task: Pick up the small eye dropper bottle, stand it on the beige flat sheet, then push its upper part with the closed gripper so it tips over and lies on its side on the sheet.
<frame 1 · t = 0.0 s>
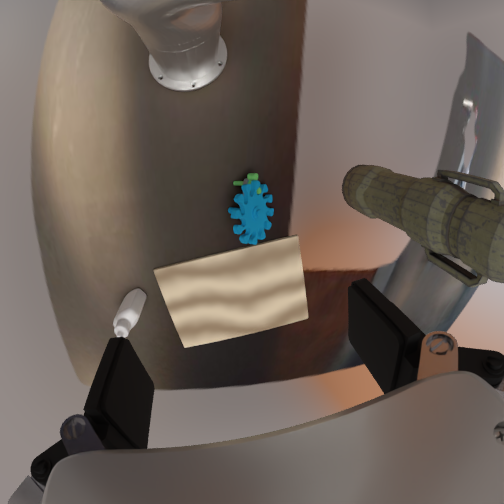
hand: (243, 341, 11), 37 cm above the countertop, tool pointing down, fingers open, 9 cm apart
eye dropper bottle: (134, 298, 49), on the countertop
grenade: (361, 187, 48), on the countertop
gear: (250, 204, 46), on the countertop
beige flat sheet: (236, 295, 52), on the countertop
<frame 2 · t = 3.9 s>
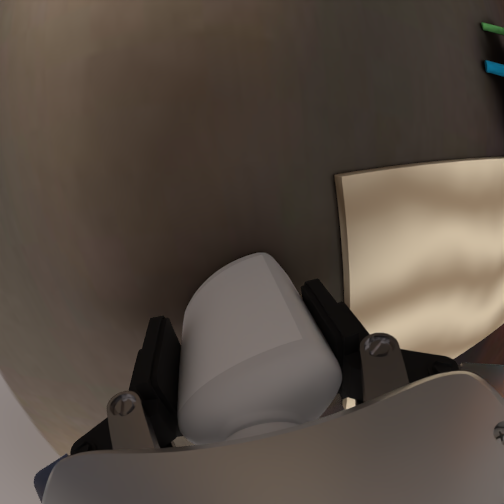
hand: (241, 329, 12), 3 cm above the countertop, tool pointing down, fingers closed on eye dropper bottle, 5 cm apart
eye dropper bottle: (234, 293, 15), on the countertop, touching gripper
gear: (500, 75, 12), on the countertop
beige flat sheet: (477, 269, 17), on the countertop
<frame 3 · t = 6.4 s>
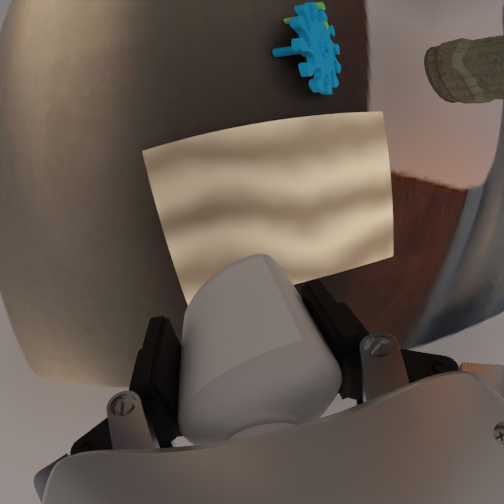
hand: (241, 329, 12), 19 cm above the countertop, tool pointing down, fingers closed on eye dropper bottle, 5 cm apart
eye dropper bottle: (234, 293, 15), point 15 cm above the countertop, touching gripper
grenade: (444, 74, 25), on the countertop
gear: (305, 54, 24), on the countertop
beige flat sheet: (286, 205, 29), on the countertop
when the fingers open (5 cm above the countertop, at t = 9.3 s): eye dropper bottle stays where it is, resting on beige flat sheet.
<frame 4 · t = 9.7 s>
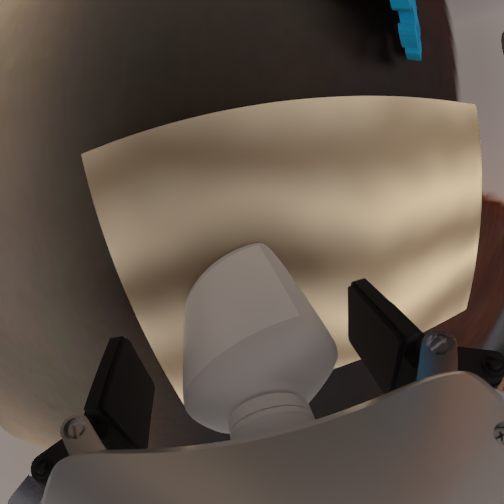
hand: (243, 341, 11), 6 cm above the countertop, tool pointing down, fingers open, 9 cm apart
eye dropper bottle: (232, 282, 15), point 1 cm above the countertop, touching beige flat sheet
gear: (367, 0, 11), on the countertop
beige flat sheet: (345, 251, 16), on the countertop
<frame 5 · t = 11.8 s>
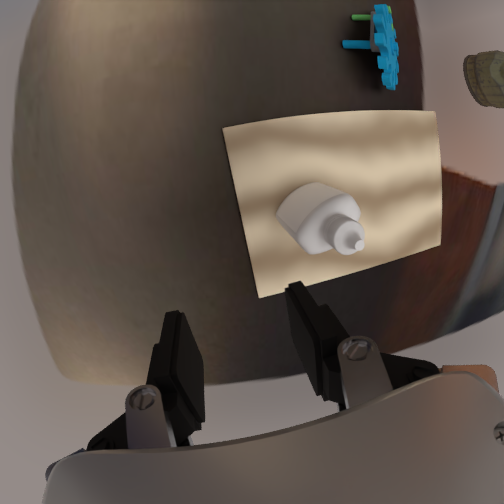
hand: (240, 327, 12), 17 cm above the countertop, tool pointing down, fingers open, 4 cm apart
eye dropper bottle: (300, 204, 28), point 1 cm above the countertop, touching beige flat sheet
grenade: (478, 81, 25), on the countertop
gear: (368, 50, 23), on the countertop
beige flat sheet: (357, 193, 29), on the countertop
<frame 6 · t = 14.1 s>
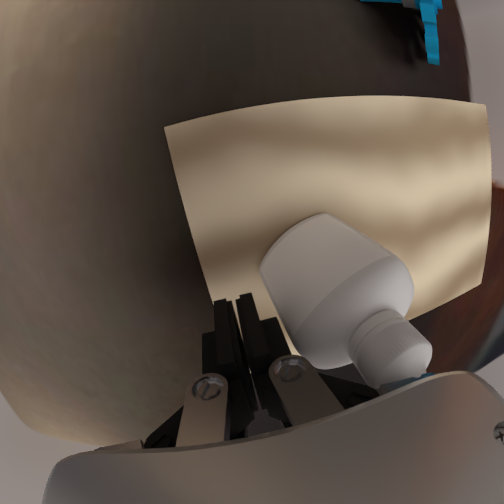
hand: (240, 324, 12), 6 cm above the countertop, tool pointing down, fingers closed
eye dropper bottle: (299, 249, 17), point 1 cm above the countertop, touching beige flat sheet, gripper
gear: (394, 10, 12), on the countertop
beige flat sheet: (387, 224, 18), on the countertop
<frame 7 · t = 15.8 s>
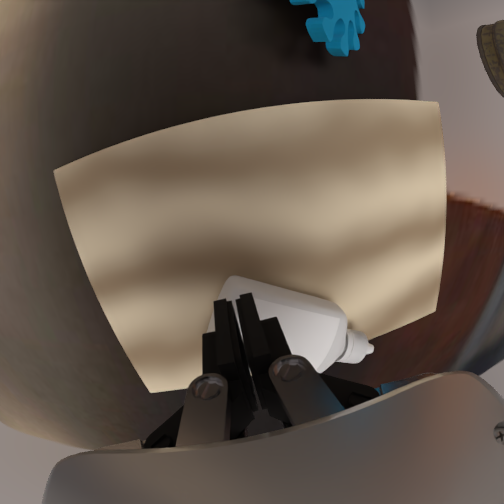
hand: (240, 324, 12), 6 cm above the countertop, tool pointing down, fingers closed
eye dropper bottle: (211, 319, 16), point 3 cm above the countertop, touching beige flat sheet
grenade: (497, 62, 14), on the countertop
gear: (308, 0, 12), on the countertop
beige flat sheet: (291, 252, 18), on the countertop
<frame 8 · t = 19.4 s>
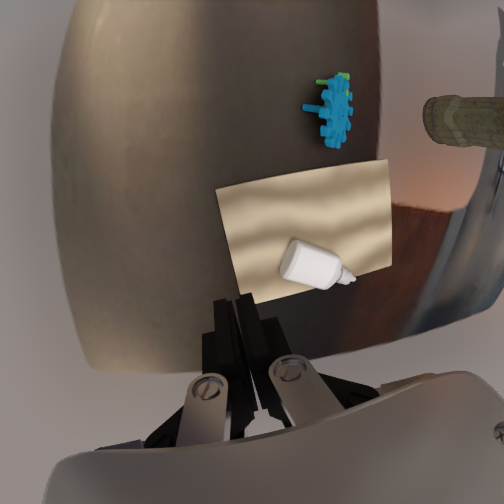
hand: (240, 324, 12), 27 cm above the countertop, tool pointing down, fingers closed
eye dropper bottle: (286, 257, 38), point 3 cm above the countertop, touching beige flat sheet
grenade: (438, 121, 37), on the countertop
gear: (326, 111, 35), on the countertop
beige flat sheet: (316, 230, 40), on the countertop
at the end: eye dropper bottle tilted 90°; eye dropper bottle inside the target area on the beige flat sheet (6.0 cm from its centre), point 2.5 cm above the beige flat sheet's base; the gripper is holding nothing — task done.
